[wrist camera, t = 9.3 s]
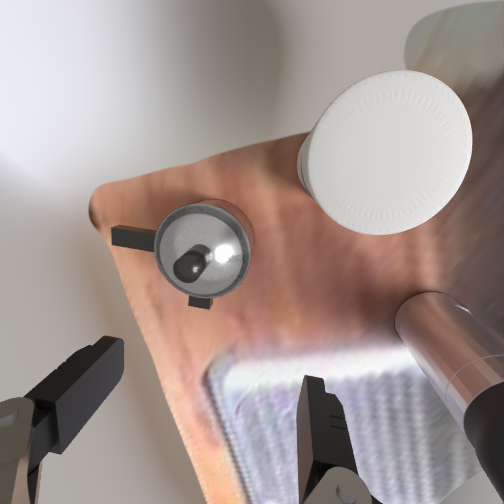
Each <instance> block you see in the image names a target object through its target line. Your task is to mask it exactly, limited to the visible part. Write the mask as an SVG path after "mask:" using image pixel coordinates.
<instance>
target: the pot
mask: <svg viewBox="0 0 504 504" xmlns="http://www.w3.org/2000/svg"><path fill="white" fill-rule="evenodd" d="M192 213H207V214H211V215H214V216H217V217H219V218H220V219H222V220H224V221H225V222H226V223H228V224H229V225H230V226H231V227H232V228H233V230H234V231H235V232H236V234H237V235H238V237H239V239H240V242H241V245H242V250H243V262H242V266H241V269H240V272H239V274H238V276H237V278H236V279H235V280H234V282H233V283H232V284H231V285H230V286H228V287H227V288H225V289H224V290H222V291H220V292H217V293H213V294H196V293H192V292H189V291H187V290H185V289H183V288H181V287H180V286H178V285H177V284H176V283H175V282H173V280H172V279H171V278H170V277H169V276H168V274H167V273H166V271H165V269H164V267H163V265H162V262H161V258H160V243H161V239H162V236H163V234H164V232H165V231H166V229H167V228H168V227H169V225H170V224H171V223H173V222H174V221H175V220H177V219H178V218H181V217H183V216H185V215H188V214H192ZM111 234H112V245H115V246H121V247H127V248H133V249H139V250H145V251H151V252H155V258H156V261H157V264H158V266H159V269H160V271H161V272H162V274H163V275H164V277H165V278H166V279H167V280H168V281H169V283H170V284H172V285H173V286H174V287H175V288H176V289H178V290H180V291H181V292H183V293H185V294H187V295H189V303H188V306H193V307H198V308H204V309H210V308H211V306H212V304H213V298H216V297H219V296H223V295H225V294H227V293H229V292H231V291H232V290H234V289H235V288H236V287H237V286H238V285H239V284H240V283H241V282H242V280H243V279H244V277H245V275H246V273H247V271H248V268H249V265H250V260H251V256H252V254H253V251H254V246H255V236H254V231H253V228H252V225H251V223H250V221H249V219H248V218H247V216H246V215H245V214H244V213H243V212H242V211H241V210H240V209H239V208H238V207H236V206H235V205H233V204H231V203H229V202H226V201H223V200H218V199H208V200H203V201H200V202H197V203H195V204H189V205H186V206H183V207H180V208H178V209H176V210H174V211H173V212H171V213H170V214H169V215H168V216H167V217H166V218H165V219H164V220H163V221H162V223H161V224H160V226H159V228H158V230H157V231H155V230H148V229H142V228H136V227H130V226H124V225H117V226H114V227H111Z"/></svg>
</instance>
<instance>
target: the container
mask: <svg viewBox="0 0 504 504" xmlns="http://www.w3.org/2000/svg"><path fill="white" fill-rule="evenodd" d="M471 152H472V131H471V125H470V121H469V117H468V115H467V112H466V110H465V108H464V106H463V104H462V102H461V101H460V99H459V98H458V97H457V95H456V94H455V93H454V92H453V91H452V90H451V89H450V88H449V87H448V86H447V85H445V84H444V83H443V82H441V81H440V80H438V79H436V78H434V77H432V76H430V75H427V74H424V73H421V72H417V71H410V70H393V71H386V72H381V73H377V74H374V75H371V76H368V77H366V78H364V79H362V80H360V81H358V82H356V83H355V84H353V85H351V86H350V87H348V88H347V89H346V90H344V91H343V92H342V93H341V94H340V95H338V96H337V97H336V98H335V100H334V101H333V102H332V103H331V104H330V105H329V106H328V108H327V109H326V110H325V112H324V113H323V114H322V116H321V117H320V119H319V120H318V122H317V123H316V125H315V126H314V127H313V129H312V130H311V132H310V133H309V135H308V136H307V138H306V139H305V140H304V142H303V144H302V146H301V148H300V150H299V153H298V157H297V173H298V177H299V179H300V182H301V184H302V185H303V187H304V188H305V189H306V190H307V192H308V193H309V194H310V195H311V196H312V198H313V199H314V200H315V201H316V202H317V203H318V205H319V206H320V207H321V208H322V209H323V210H324V212H325V213H326V214H327V215H328V216H329V217H330V218H332V219H333V220H334V221H335V222H337V223H338V224H340V225H342V226H343V227H345V228H347V229H350V230H352V231H355V232H359V233H363V234H370V235H387V234H394V233H398V232H402V231H405V230H408V229H411V228H413V227H415V226H417V225H419V224H421V223H423V222H425V221H426V220H428V219H429V218H431V217H432V216H434V215H435V214H436V213H437V212H439V211H440V210H441V209H442V208H443V207H444V206H445V205H446V204H447V203H448V202H449V200H450V199H451V198H452V197H453V195H454V194H455V193H456V191H457V190H458V188H459V186H460V184H461V183H462V181H463V179H464V176H465V174H466V172H467V169H468V166H469V162H470V158H471Z"/></svg>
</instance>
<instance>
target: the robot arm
mask: <svg viewBox="0 0 504 504" xmlns="http://www.w3.org/2000/svg"><path fill="white" fill-rule="evenodd" d="M395 328H396V331H397V333H398V334H399V336H400V338H401V339H402V341H403V342H404V344H405V345H406V347H407V348H408V350H409V351H410V353H411V354H412V356H413V357H414V359H415V360H416V362H417V363H418V365H419V366H420V368H421V369H422V371H423V372H424V374H425V375H426V377H427V378H428V380H429V381H430V383H431V384H432V386H433V387H434V389H435V390H436V392H437V393H438V395H439V396H440V398H441V399H442V401H443V402H444V404H445V405H446V407H447V408H448V410H449V411H450V413H451V414H452V416H453V417H454V419H455V420H456V422H457V423H458V425H459V426H460V428H461V429H462V431H463V432H464V434H465V435H466V437H467V438H468V439H469V441H470V442H471V444H472V445H473V447H474V449H475V451H476V455H477V457H478V460H479V462H480V464H481V466H482V468H483V470H484V471H485V473H486V475H487V476H488V478H489V479H490V481H491V483H492V484H493V486H494V487H495V489H496V491H497V492H498V494H499V496H500V497H501V499H502V501H503V502H504V336H503V335H501V334H500V333H499V332H497V331H496V330H495V329H494V328H492V327H491V326H490V325H488V324H487V323H486V322H485V321H483V320H482V319H481V318H479V317H478V316H477V315H476V314H474V313H473V312H472V311H471V310H469V309H468V308H467V307H463V306H461V305H460V304H459V303H458V302H456V301H455V300H454V299H452V298H451V297H449V296H448V295H445V294H443V293H438V292H425V293H420V294H418V295H415V296H413V297H411V298H409V299H408V300H406V301H405V302H404V303H403V304H402V305H401V307H400V308H399V309H398V311H397V314H396V317H395ZM123 371H124V341H123V339H121V338H116V337H110V336H103V337H102V338H100V339H99V340H98V341H97V342H96V343H95V344H94V345H93V346H91V345H88V346H86V347H84V348H82V349H80V350H78V351H76V352H75V353H74V354H72V355H71V356H70V357H69V358H68V359H67V360H66V362H63V363H62V364H61V365H60V366H59V367H58V368H57V369H55V370H54V371H53V372H52V373H50V374H49V375H48V376H47V377H46V378H45V379H43V380H42V381H41V382H40V383H39V384H38V385H36V387H34V388H33V389H32V390H31V391H30V392H28V393H27V394H26V395H25V396H24V397H18V398H11V399H8V400H5V401H2V402H0V504H38V497H39V488H40V480H41V471H42V459H43V458H44V457H45V456H46V455H47V453H48V452H52V453H56V454H62V453H63V452H64V450H65V449H66V448H67V447H68V445H69V444H70V443H71V442H72V440H73V439H74V438H75V437H76V435H77V434H78V433H79V432H80V430H81V429H82V428H83V426H84V425H85V424H86V423H87V421H88V420H89V419H90V418H91V416H92V415H93V414H94V413H95V411H96V410H97V409H98V408H99V406H100V405H101V404H102V402H103V401H104V400H105V399H106V398H107V396H108V395H109V394H110V392H111V391H112V390H113V389H114V387H115V386H116V385H117V384H118V382H119V381H120V379H121V377H122V374H123ZM296 422H297V454H298V487H299V504H383V503H381V502H379V501H378V500H377V499H376V498H374V497H373V496H372V495H371V494H370V492H369V490H368V488H367V486H366V484H365V483H364V481H363V480H362V479H361V478H360V477H359V475H358V471H357V467H356V463H355V458H354V454H353V449H352V445H351V441H350V436H349V432H348V427H347V423H346V421H345V414H344V410H343V406H342V404H341V403H340V401H339V400H338V398H337V397H336V395H335V394H330V393H326V391H325V385H324V380H323V378H318V377H313V376H308V375H305V376H304V379H303V383H302V388H301V392H300V397H299V401H298V406H297V417H296Z"/></svg>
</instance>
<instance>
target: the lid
mask: <svg viewBox="0 0 504 504" xmlns="http://www.w3.org/2000/svg"><path fill="white" fill-rule="evenodd" d="M160 258H161V262H162V265H163V267H164V269H165V271H166V273H167V274H168V276H169V277H170V278H171V279H172V280H173V282H175V283H176V284H177V285H178V286H180V287H181V288H183V289H185V290H187V291H189V292H192V293H196V294H213V293H217V292H220V291H222V290H224V289H225V288H227V287H228V286H230V285H231V284H232V283H233V282H234V280H235V279H236V278H237V276H238V274H239V272H240V269H241V266H242V262H243V250H242V245H241V242H240V239H239V237H238V235H237V234H236V232H235V231H234V230H233V228H232V227H231V226H230V225H229V224H228V223H226V222H225V221H224V220H222V219H220V218H219V217H217V216H214V215H211V214H207V213H192V214H188V215H185V216H183V217H181V218H178V219H177V220H175V221H174V222H173V223H171V224H170V225H169V227H168V228H167V229H166V231H165V232H164V234H163V236H162V239H161V243H160Z"/></svg>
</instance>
